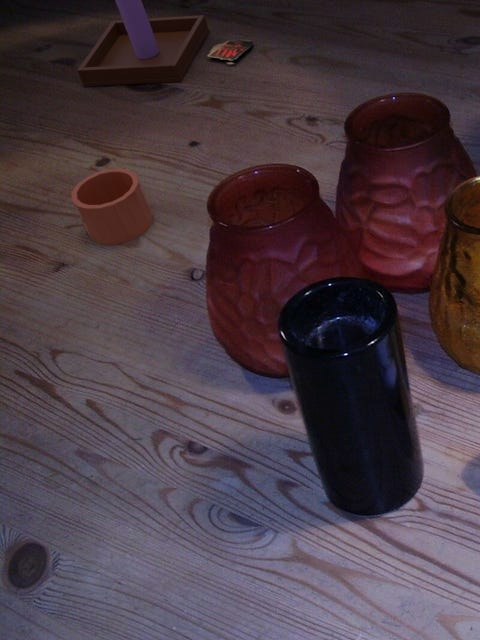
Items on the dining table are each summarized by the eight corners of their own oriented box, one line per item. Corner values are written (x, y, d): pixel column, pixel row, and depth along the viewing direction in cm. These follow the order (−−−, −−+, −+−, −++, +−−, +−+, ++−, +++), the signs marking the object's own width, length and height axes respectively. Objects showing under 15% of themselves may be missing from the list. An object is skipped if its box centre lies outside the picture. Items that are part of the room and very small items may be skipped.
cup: (81, 250, 89) (61, 209, 85) (104, 209, 93) (85, 169, 89) (143, 248, 88) (125, 207, 85) (163, 207, 92) (146, 167, 89)
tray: (83, 86, 110) (76, 70, 108) (118, 36, 117) (112, 20, 116) (181, 82, 108) (175, 65, 107) (209, 31, 116) (204, 15, 114)
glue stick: (132, 60, 112) (99, -27, 105) (140, 48, 114) (108, -38, 106) (155, 59, 111) (123, -29, 104) (163, 46, 113) (132, -40, 106)
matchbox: (256, 41, 112) (255, 37, 112) (240, 65, 109) (239, 61, 109) (218, 41, 113) (216, 37, 113) (201, 65, 110) (199, 61, 110)
